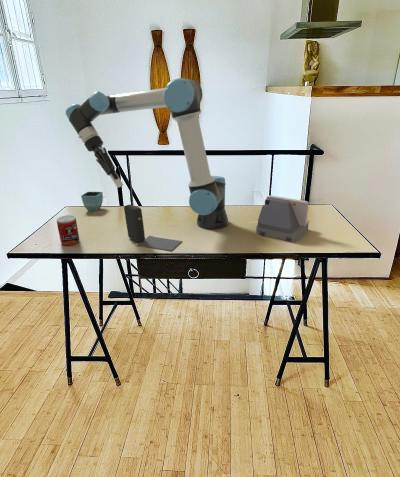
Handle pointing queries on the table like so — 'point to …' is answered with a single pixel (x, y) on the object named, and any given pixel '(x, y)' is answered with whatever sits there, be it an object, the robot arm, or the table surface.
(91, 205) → the flower pot
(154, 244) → the mat
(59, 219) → the canned food
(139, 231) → the card reader
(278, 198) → the grey tapered box
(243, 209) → the table surface
